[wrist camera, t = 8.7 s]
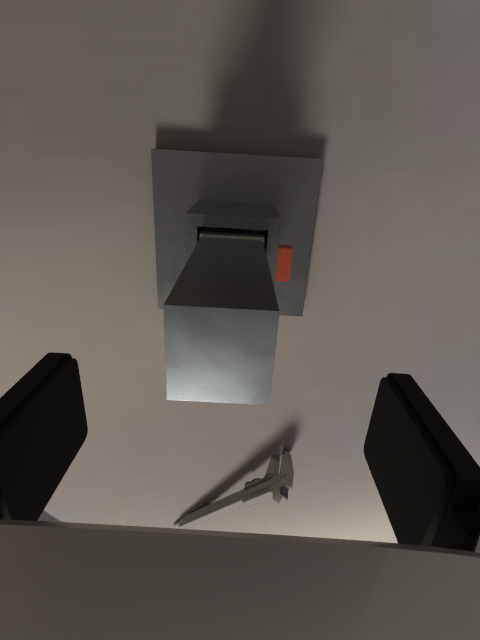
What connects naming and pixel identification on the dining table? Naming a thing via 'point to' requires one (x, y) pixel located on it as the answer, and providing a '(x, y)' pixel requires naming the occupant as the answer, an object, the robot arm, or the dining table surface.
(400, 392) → the robot arm
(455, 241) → the dining table surface
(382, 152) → the dining table surface
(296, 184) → the base
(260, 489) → the caliper
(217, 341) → the block
